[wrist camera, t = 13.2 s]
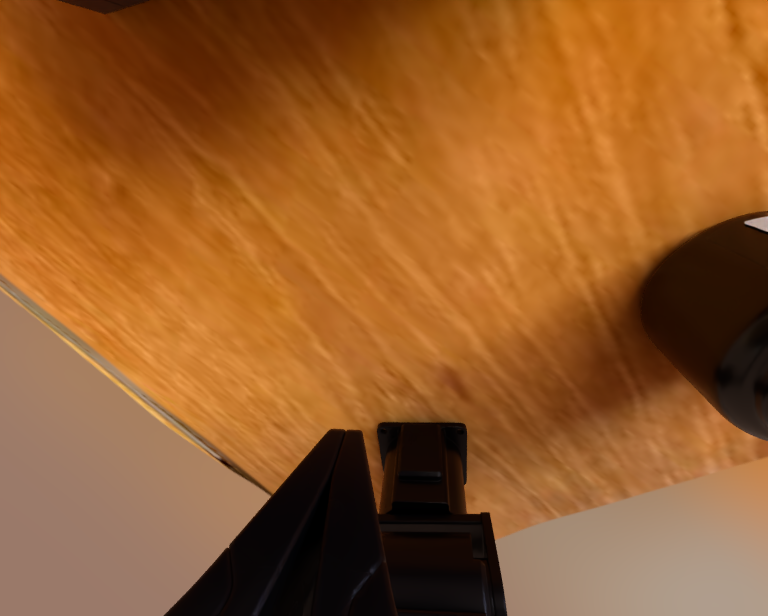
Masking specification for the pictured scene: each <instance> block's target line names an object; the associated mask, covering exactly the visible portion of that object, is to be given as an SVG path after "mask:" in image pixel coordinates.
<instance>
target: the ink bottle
mask: <svg viewBox="0 0 768 616" xmlns="http://www.w3.org/2000/svg"><path fill="white" fill-rule="evenodd" d="M641 319H642V323H643V327H644V329H645V332H646V334H647V335H648V337H649V339H650V340H651V342H652V343H653V344H654V345H655V346H656V347H657V349H658V350H659V351H660V352H661V353H662V354H663V355H664V356H665V357H666V358H667V359H668V360H669V361H670V362H671V363H672V364H673V365H674V366H675V367H676V368H677V369H678V370H679V371H680V372H681V374H682V375H683V376H684V377H685V378H686V379H687V380H688V381H689V382H690V383H691V384H692V385H693V386H694V387H695V388H696V389H697V390H698V391H699V392H700V393H701V394H702V395H703V396H704V397H705V399H706V400H707V401H708V402H709V403H710V404H711V405H712V406H713V407H714V408H715V409H716V410H717V411H718V412H719V413H720V414H721V415H722V416H723V417H724V418H725V419H727V420H728V421H729V422H730V423H732V424H733V425H734V426H736V427H738V428H739V429H741V430H743V431H744V432H746V433H748V434H750V435H753V436H755V437H758V438H760V439H763V440H766V441H768V211H763V212H755V213H750V214H746V215H742V216H738V217H735V218H732V219H729V220H727V221H724V222H722V223H719V224H717V225H715V226H713V227H711V228H709V229H707V230H705V231H703V232H702V233H700V234H698V235H696V236H695V237H693V238H692V239H690V240H689V241H687V242H686V243H685V244H683V245H682V246H681V247H679V248H678V249H677V250H676V251H675V252H673V253H672V254H671V255H670V256H669V257H668V258H667V259H666V260H665V261H664V262H663V263H662V264H661V265H660V267H659V268H658V269H657V270H656V271H655V273H654V274H653V276H652V277H651V279H650V280H649V282H648V284H647V286H646V288H645V291H644V293H643V297H642V301H641Z"/></svg>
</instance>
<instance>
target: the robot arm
mask: <svg viewBox="0 0 768 616" xmlns="http://www.w3.org/2000/svg"><path fill="white" fill-rule="evenodd" d="M383 429H386V430H383ZM377 433H378V440H379V446H380V453H381V459H382V465H383V472H384V475H383V483H382V492H381V500H380V508H379V514H377V509H376V503H375V498H374V492H373V487H372V481H371V476H370V471H369V465H368V460H367V454H366V449H365V443H364V438H363V433H362V431H361V430H347V431H345V430H344V429H330V430H329V431H328V432H327V433H326V434H325V435H324V436H323V438H322V439H321V440H320V441H319V442H318V443H317V444H316V446H315V447H314V448H313V449H312V450H311V451H310V453H309V454H308V455H307V456H306V457H305V458H304V459H303V461H302V462H301V463H300V464H299V465H298V466H297V468H296V469H295V470H294V471H293V472H292V473H291V474H290V476H289V477H288V478H287V479H286V480H285V481H284V483H283V484H282V485H281V486H280V487H279V488H278V489H277V491H276V492H275V493H274V494H273V495H272V496H271V498H270V499H269V500H268V501H267V502H266V503H265V505H264V506H263V507H262V508H261V509H260V510H259V511H258V513H257V514H256V515H255V516H254V517H253V518H252V519H251V521H250V522H249V523H248V524H247V525H246V526H245V528H244V529H243V530H242V531H241V532H240V533H239V535H238V536H237V537H236V538H235V539H234V540H233V541H232V543H231V544H230V545H229V548H226V549H225V550H224V552H223V553H222V554H221V555H220V556H219V557H218V558H217V560H216V561H215V562H214V563H213V564H212V565H211V566H210V567H209V569H208V570H207V571H206V572H205V573H204V574H203V575H202V576H201V577H200V579H199V580H198V581H197V582H196V583H195V584H194V585H193V586H192V587H191V588H190V589H189V590H188V591H187V592H186V594H185V595H184V596H183V597H182V598H181V599H180V600H179V601H178V602H177V603H176V604H175V605H174V606H173V607H172V608H171V609H170V610H169V611H168V612H167V613H166V614H165V615H164V616H507V611H506V603H505V596H504V589H503V583H502V577H501V571H500V566H499V561H498V555H497V550H496V544H495V539H494V534H493V528H492V523H491V518H490V513H489V512H481V514H467V511H466V501H465V491H464V485H465V484H466V481H467V428H466V425H465V424H463V423H398V422H383V423H380V424H379V425H378V429H377Z"/></svg>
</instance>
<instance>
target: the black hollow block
mask: <svg viewBox="0 0 768 616" xmlns="http://www.w3.org/2000/svg"><path fill="white" fill-rule="evenodd" d="M58 1H62V2H65V3H69V4H72V5H75V6H79V7H82V8H86V9H89V10H93V11H96V12H99V13H103V14H108V13H111V12H114V11H117V10H120V9H124V8H126V6H123V5H120V4H117V3H114V2H111V1H108V0H58Z"/></svg>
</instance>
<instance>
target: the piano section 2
mask: <svg viewBox="0 0 768 616" xmlns="http://www.w3.org/2000/svg"><path fill="white" fill-rule="evenodd" d="M108 1H111V2H114V3H117V4H120V5H123V6H126V7H130V6H133V5H136V4H139V3H143V2H146V1H149V0H108Z"/></svg>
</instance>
